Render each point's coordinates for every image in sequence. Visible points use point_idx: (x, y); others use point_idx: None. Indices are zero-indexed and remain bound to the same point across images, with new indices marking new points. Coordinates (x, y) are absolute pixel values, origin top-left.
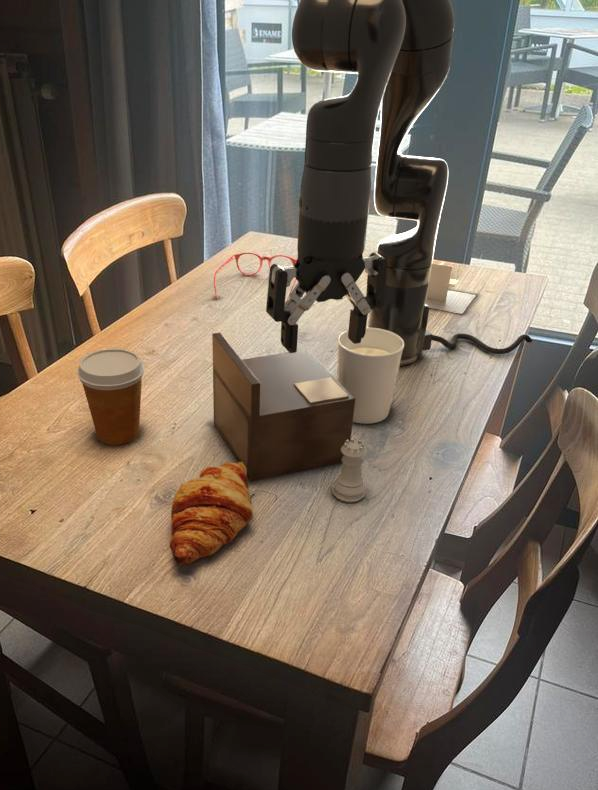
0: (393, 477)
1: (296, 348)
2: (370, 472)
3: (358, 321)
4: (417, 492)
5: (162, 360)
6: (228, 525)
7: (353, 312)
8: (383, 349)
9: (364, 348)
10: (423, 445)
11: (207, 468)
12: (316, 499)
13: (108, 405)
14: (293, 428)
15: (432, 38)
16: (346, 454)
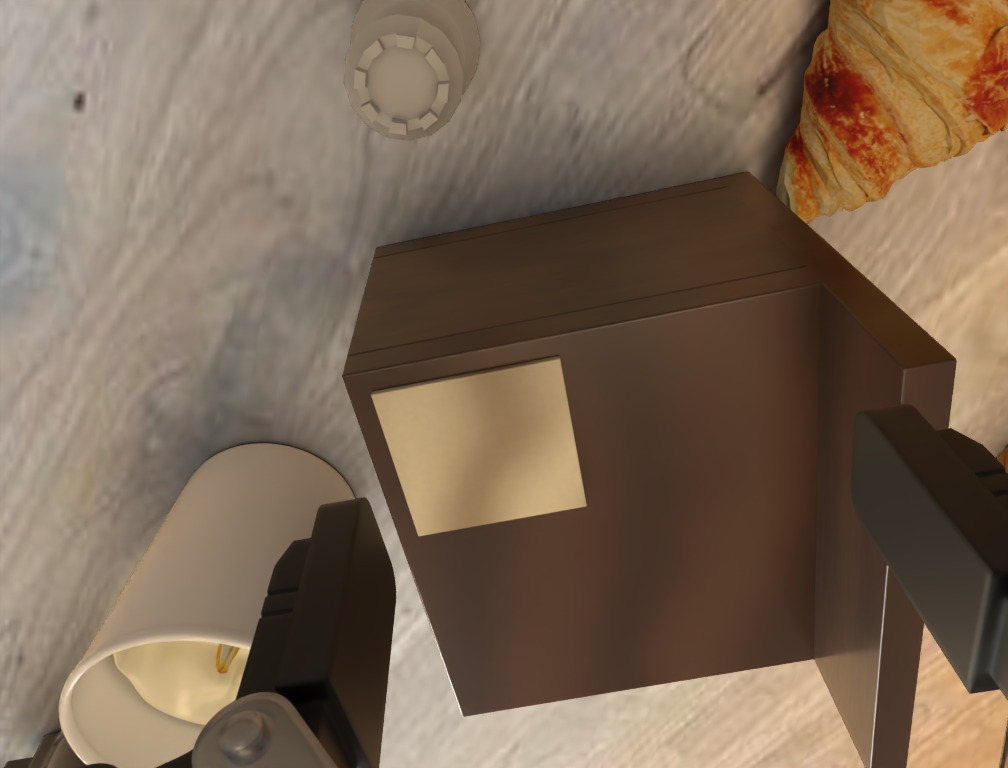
0: (224, 127)
1: (878, 425)
2: (306, 170)
3: (334, 635)
4: (141, 14)
5: (797, 761)
6: None
7: (362, 742)
8: (157, 714)
9: None
10: (84, 308)
11: (999, 120)
12: (544, 26)
13: None
14: (628, 276)
15: None
16: (447, 41)
